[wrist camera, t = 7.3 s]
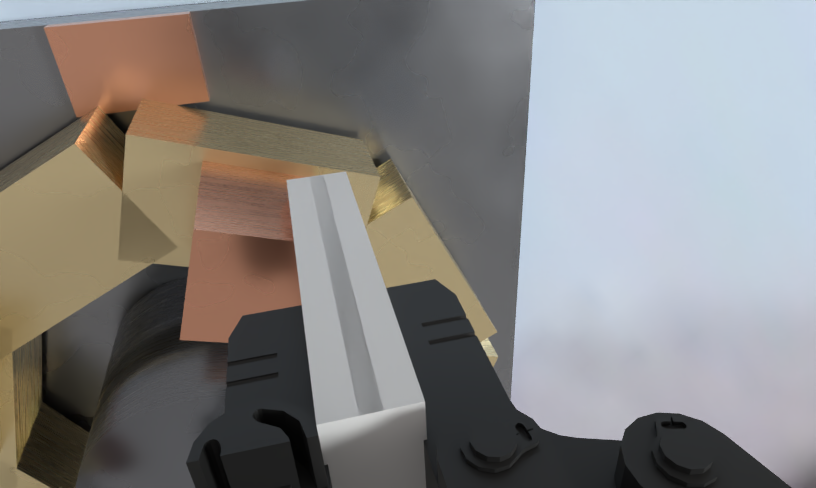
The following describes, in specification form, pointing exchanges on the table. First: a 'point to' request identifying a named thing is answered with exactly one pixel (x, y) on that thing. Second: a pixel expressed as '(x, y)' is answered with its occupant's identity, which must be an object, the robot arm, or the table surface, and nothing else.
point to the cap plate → (286, 105)
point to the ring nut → (174, 243)
